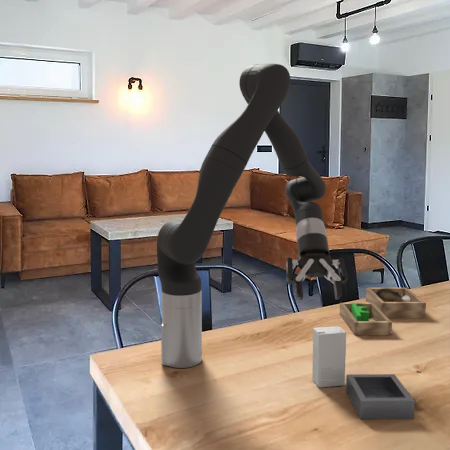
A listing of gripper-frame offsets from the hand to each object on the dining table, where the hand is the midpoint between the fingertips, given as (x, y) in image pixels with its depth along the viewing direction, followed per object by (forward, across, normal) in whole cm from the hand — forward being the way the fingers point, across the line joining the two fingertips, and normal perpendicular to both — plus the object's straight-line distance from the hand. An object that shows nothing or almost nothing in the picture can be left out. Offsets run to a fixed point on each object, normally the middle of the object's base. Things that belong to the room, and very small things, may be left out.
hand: (319, 298), depth 119 cm
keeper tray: (+25, +8, -4) cm, 27 cm away
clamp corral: (-7, +18, +28) cm, 34 cm away
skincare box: (+19, 0, +3) cm, 19 cm away
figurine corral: (-16, +31, +38) cm, 51 cm away
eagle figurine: (-15, +30, +37) cm, 51 cm away
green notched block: (-6, +17, +29) cm, 34 cm away
